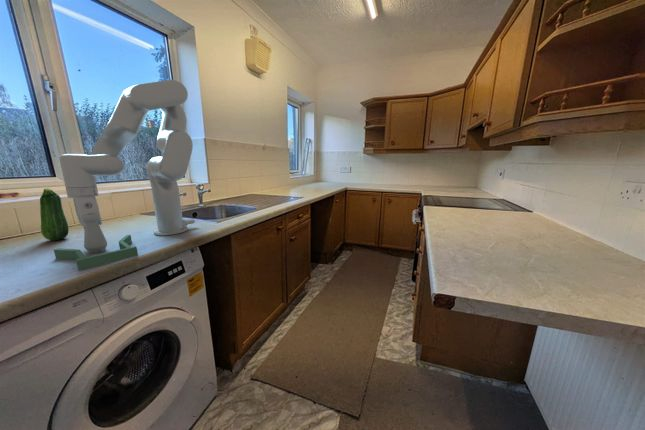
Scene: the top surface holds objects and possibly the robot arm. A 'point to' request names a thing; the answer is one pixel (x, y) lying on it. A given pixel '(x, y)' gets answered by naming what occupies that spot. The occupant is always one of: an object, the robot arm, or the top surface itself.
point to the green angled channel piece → (98, 259)
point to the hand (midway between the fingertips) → (93, 244)
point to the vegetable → (52, 216)
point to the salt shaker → (93, 234)
